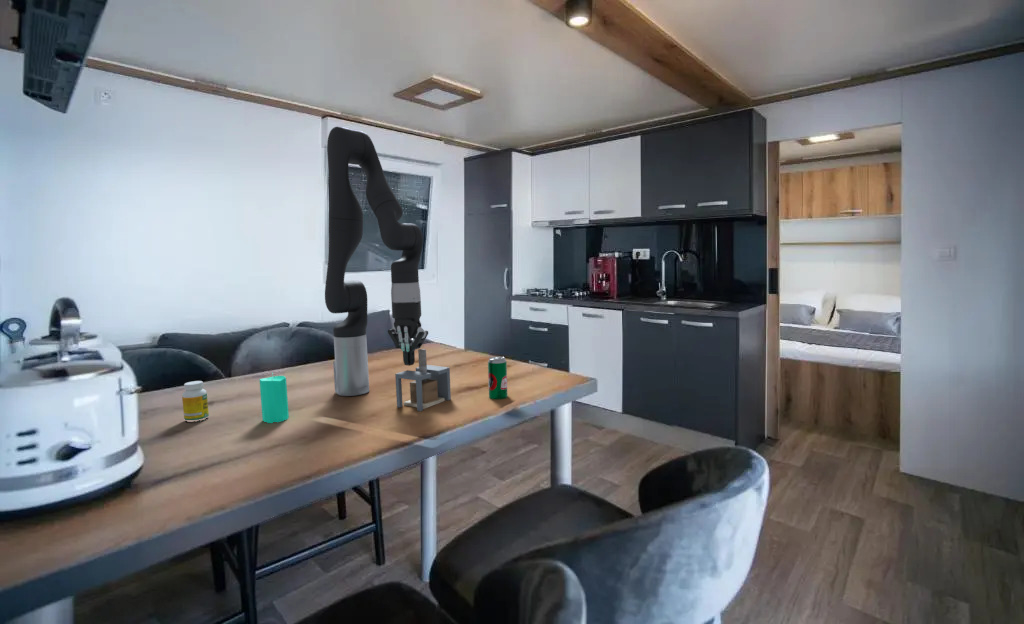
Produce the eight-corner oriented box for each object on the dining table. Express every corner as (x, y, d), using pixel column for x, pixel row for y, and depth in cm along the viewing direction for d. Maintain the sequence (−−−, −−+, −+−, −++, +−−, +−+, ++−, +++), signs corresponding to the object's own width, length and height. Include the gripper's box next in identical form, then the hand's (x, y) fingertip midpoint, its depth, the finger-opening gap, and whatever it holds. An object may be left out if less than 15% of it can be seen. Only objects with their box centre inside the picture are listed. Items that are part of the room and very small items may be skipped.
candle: (263, 424, 124) (259, 376, 123) (262, 418, 129) (258, 371, 128) (289, 420, 127) (286, 373, 125) (288, 414, 132) (284, 368, 131)
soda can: (505, 404, 136) (504, 360, 134) (487, 403, 137) (485, 359, 135) (509, 399, 141) (508, 356, 139) (491, 398, 142) (490, 356, 140)
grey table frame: (364, 407, 137) (362, 370, 135) (402, 394, 148) (400, 360, 147) (442, 422, 122) (440, 381, 121) (477, 407, 134) (475, 369, 133)
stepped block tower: (403, 405, 133) (401, 351, 131) (424, 397, 139) (422, 346, 138) (424, 408, 129) (421, 353, 128) (444, 400, 136) (442, 348, 134)
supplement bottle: (185, 418, 130) (182, 381, 129) (210, 415, 133) (206, 379, 132) (183, 424, 125) (179, 386, 124) (208, 421, 128) (204, 383, 127)
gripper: (377, 300, 134) (381, 365, 136) (414, 301, 127) (418, 369, 129) (398, 298, 141) (401, 360, 142) (434, 299, 134) (437, 364, 135)
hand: (409, 364), depth 136 cm, fingers closed
